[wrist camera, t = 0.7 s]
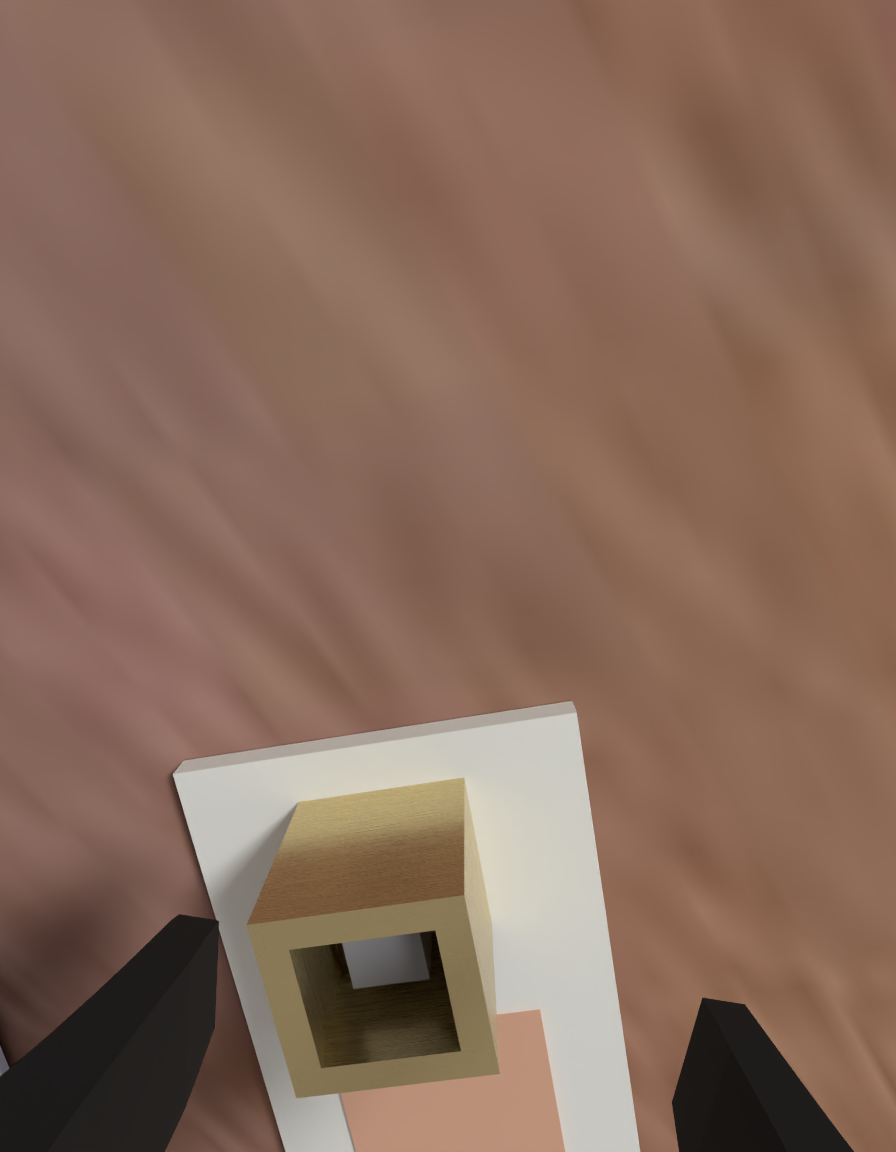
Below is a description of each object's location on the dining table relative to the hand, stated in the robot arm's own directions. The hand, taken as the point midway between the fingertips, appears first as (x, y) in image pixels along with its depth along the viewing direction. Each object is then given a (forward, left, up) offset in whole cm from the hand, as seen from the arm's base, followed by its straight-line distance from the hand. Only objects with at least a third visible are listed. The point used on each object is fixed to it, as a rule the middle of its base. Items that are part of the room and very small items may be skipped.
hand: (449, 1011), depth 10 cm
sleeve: (-3, -4, -10) cm, 11 cm away
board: (-3, -9, -11) cm, 14 cm away
